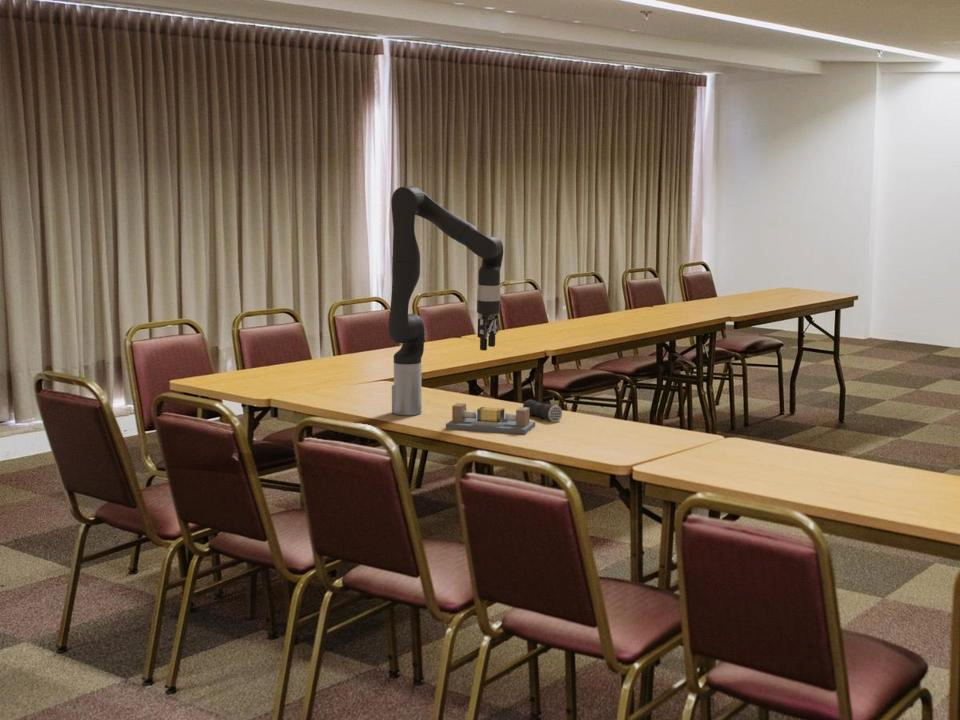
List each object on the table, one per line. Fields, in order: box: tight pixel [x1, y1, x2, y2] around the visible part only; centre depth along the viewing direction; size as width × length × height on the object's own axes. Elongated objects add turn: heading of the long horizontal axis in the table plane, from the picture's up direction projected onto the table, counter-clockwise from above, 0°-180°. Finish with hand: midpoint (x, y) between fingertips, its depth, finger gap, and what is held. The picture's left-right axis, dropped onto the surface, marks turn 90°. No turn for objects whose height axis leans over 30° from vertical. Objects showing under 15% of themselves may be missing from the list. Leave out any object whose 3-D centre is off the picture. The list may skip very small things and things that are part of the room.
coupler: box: [476, 406, 505, 424], centre depth 365 cm, size 8×4×4 cm, turn 73°
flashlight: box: [522, 399, 563, 423], centre depth 381 cm, size 15×5×5 cm, turn 34°
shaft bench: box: [445, 402, 536, 435], centre depth 365 cm, size 26×12×7 cm, turn 73°
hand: (487, 348), depth 375 cm, fingers open, 8 cm apart
